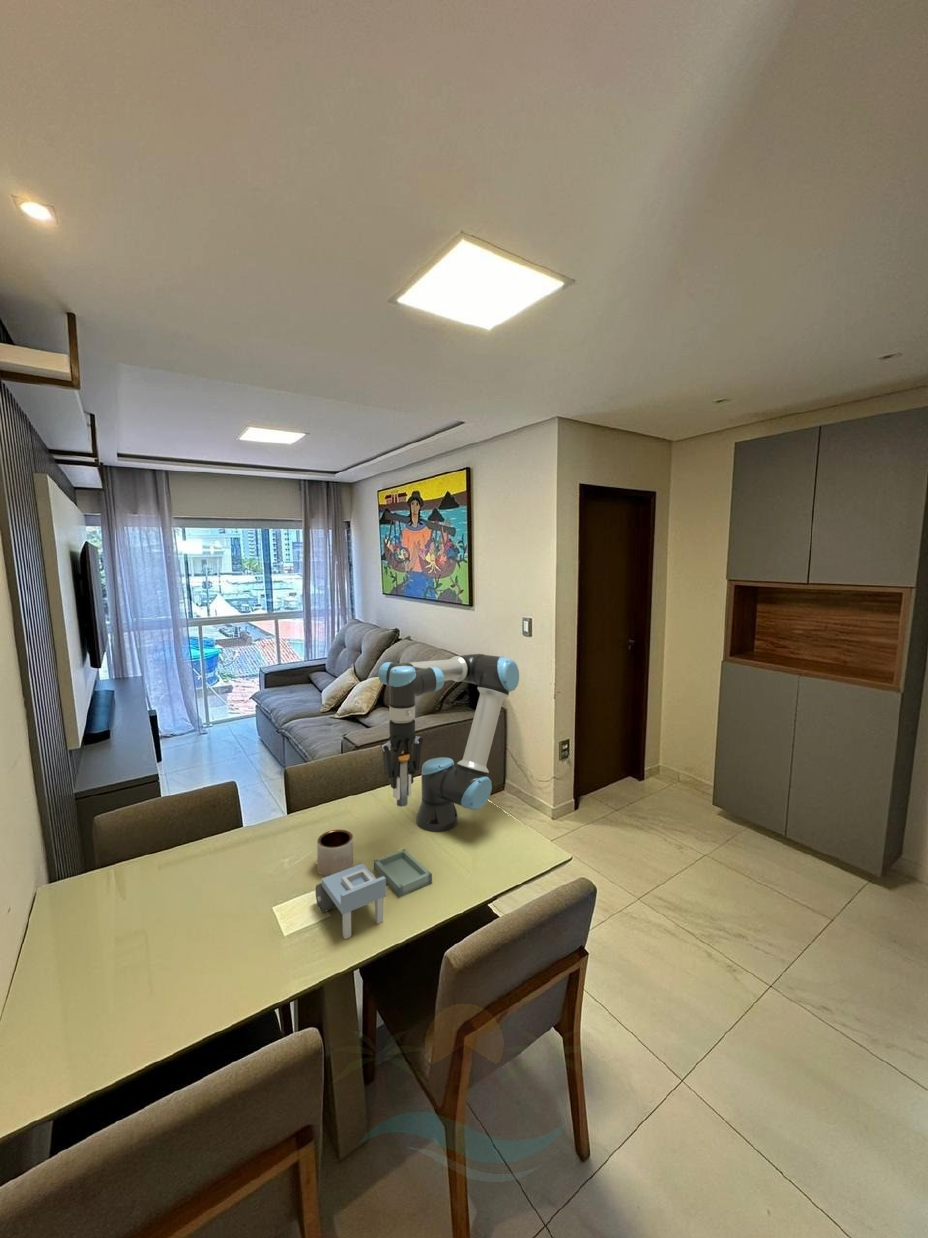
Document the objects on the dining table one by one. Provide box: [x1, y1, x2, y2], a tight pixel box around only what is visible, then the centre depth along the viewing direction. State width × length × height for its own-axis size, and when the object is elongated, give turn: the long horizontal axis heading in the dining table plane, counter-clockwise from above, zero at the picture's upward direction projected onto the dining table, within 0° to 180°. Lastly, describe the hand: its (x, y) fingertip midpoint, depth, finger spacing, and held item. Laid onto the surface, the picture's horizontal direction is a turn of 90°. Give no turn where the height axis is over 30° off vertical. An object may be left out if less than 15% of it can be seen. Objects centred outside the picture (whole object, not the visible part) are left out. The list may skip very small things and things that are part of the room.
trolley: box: [314, 863, 387, 940], centre depth 133 cm, size 18×14×12 cm
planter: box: [316, 829, 354, 877], centre depth 153 cm, size 11×11×10 cm
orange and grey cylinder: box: [396, 751, 410, 808], centre depth 146 cm, size 5×5×16 cm
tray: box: [373, 848, 433, 898], centre depth 149 cm, size 16×11×3 cm
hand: (402, 796), depth 146 cm, fingers closed on orange and grey cylinder, 3 cm apart
